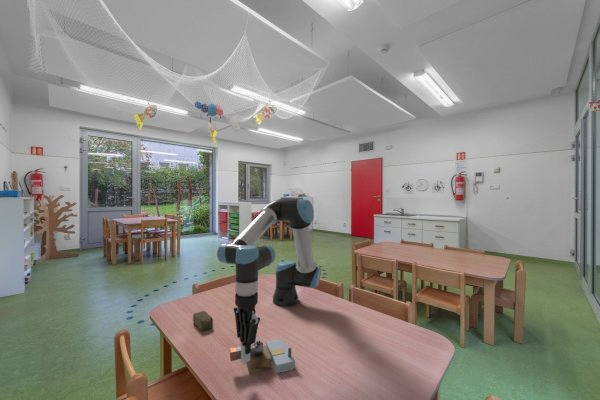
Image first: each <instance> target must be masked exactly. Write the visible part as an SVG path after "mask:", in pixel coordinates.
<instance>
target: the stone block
mask: <svg viewBox="0 0 600 400" xmlns="http://www.w3.org/2000/svg"><path fill="white" fill-rule="evenodd" d="M192 317H193V318H192V322H193V323H194V324H195V326H196V327H197V328H198V329H199V330H200V331H207V330H210V329H211V328H213V326H214V319H213V317H212V316H211V315H210V314H209V313H208V312H207V311H205V310H203V311H202V310H201V311H198V312H194V313H193V316H192Z"/></svg>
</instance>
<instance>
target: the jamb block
mask: <svg viewBox="0 0 600 400" xmlns="http://www.w3.org/2000/svg"><path fill="white" fill-rule="evenodd" d="M245 364H246V368H247V371H248V374H249V375H252V374H255V373H260V372H263V371H267V370H272V362H271V356H270V353H269V351H268V349H267V346H266V345H263V354H262V355H260V356H252V357H250V361H248V362H246V363H245Z"/></svg>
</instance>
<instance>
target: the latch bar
mask: <svg viewBox="0 0 600 400" xmlns="http://www.w3.org/2000/svg"><path fill="white" fill-rule="evenodd" d="M263 346H264V342H262V341H260V340H256V341H255V343H253V344H251V352H250V357H252V356H260V355H262V354H263ZM229 357H230V358H229V360H230V362H234V361H237V360H241V346H238V347H230V348H229Z"/></svg>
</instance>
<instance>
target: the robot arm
mask: <svg viewBox="0 0 600 400" xmlns="http://www.w3.org/2000/svg"><path fill="white" fill-rule="evenodd" d="M314 213H315V210H314V206H313V203H312V202H311V200H309V199H306V198H305V199H303V198H280V199H279V198H278V199H275V200H273V201H271V202H270V203H268V204H266V205H264V207H263V208H262V209H260V211H259V213H258V215H257V216H256V218H254V219H253V220H252V221H251V222H250V223H249V224H248V225H247V226H246V227H245V228H244V229H243V230H242V231H241V232H240V233H239V234H238V235H237V236H235V238H234V239H233V240H232V241H231V242H230V243H221V244H220V245H219V247H218V248H217V252H216V256H217V260H218V261H219V262H220V263H224V264H228V265H235V283H234V284H235V286H234V291H235V294H234V295H235V296H234V303H235V304H234V305H235V307H234V308H233V313H234V317H235V319H234V320H235V327H236V328H235V329H236V336H237V338H238V339H239V341H240V347H241V359H240V363H242V364H243V365H244V364H246V362H248V361H250V352H251V344H254V343H255V342H256V341H257V340H256V338H257V335H258V328H259V324H260V321H261V318H260V316H256V309H255V308H256V305H257V304H258V303H259V293H258V289H259V284H258V283H259V282H258V281H259V271H260V270H262V269H264V268H266V267H268V266H270V265H271V264H273V262H275V259H276V251H275V249H274V248H273V247H272V246H270V245H262V246H261V245H260V246H256V245H255V244H256V243H257V241H259V239H260V238H261V237H262V236H263V234H264V233H265V232H266V231H267V230H268V229H269V228H270V226H273V225H275V224H276V223H277V222H287V223H288V227H289V228H290V229H292V235H293V242H294V247H295V252H296V259H297V261H295V260H284V261H281V262H279V263H277V264H276V266H275V289H274V293H273V296H272V303H273V304H274V305H277V306H281V307H290V306H294V305H296V304H297V303H298V302H299V296H298V291H297V289H296V286H298V287H303V288H309V289H310V288H311V289H315V288H317V287H318V286H319V283H320V281H321V280H320V279H321V276H322V275H321V274H322V270H321V269H322V268H321V267H319V266H317V263H316V261H315V260H314V257H313V249H312V248H313V247H312V242H311V237H310V236H311V234H310V226H311V224H312V222H313V220H314V218H315V214H314Z"/></svg>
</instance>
